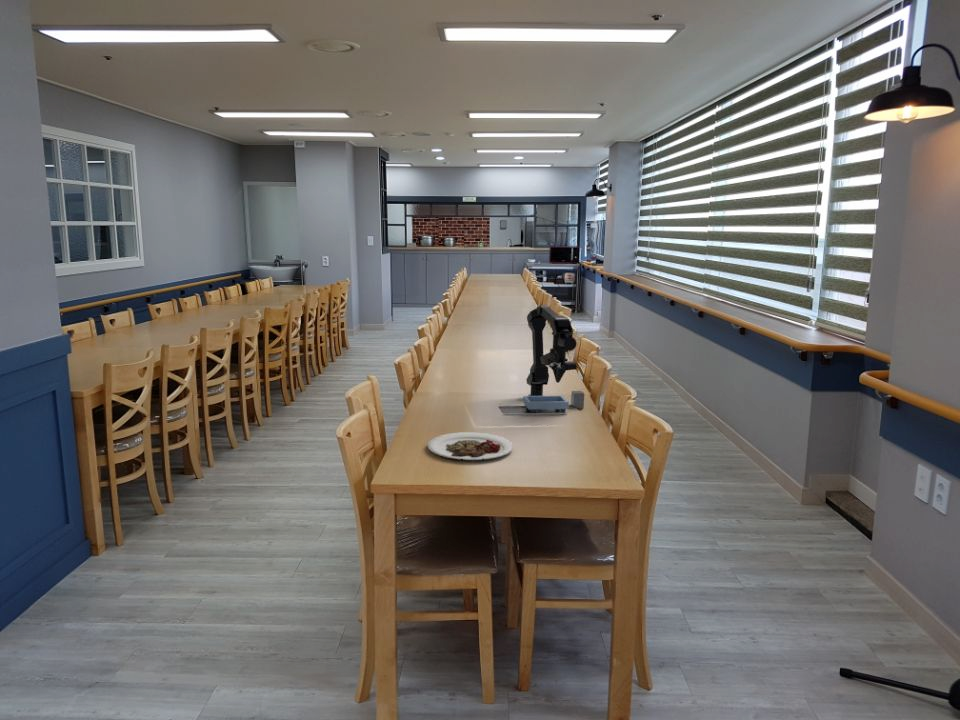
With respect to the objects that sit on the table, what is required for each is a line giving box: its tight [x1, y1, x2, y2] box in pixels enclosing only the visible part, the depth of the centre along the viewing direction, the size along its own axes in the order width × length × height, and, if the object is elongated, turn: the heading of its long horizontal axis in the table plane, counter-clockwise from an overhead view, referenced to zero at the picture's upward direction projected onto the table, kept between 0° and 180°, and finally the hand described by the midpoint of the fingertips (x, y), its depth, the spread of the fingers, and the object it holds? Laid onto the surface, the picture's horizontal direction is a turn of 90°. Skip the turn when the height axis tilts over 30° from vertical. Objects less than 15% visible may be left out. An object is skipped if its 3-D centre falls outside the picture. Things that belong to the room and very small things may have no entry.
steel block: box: [570, 390, 585, 410], centre depth 302 cm, size 4×4×7 cm
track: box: [498, 404, 569, 416], centre depth 292 cm, size 13×27×1 cm, turn 98°
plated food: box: [427, 431, 514, 461], centre depth 242 cm, size 30×30×3 cm
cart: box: [522, 395, 570, 413], centre depth 293 cm, size 11×17×5 cm, turn 98°
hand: (557, 382), depth 296 cm, fingers closed
